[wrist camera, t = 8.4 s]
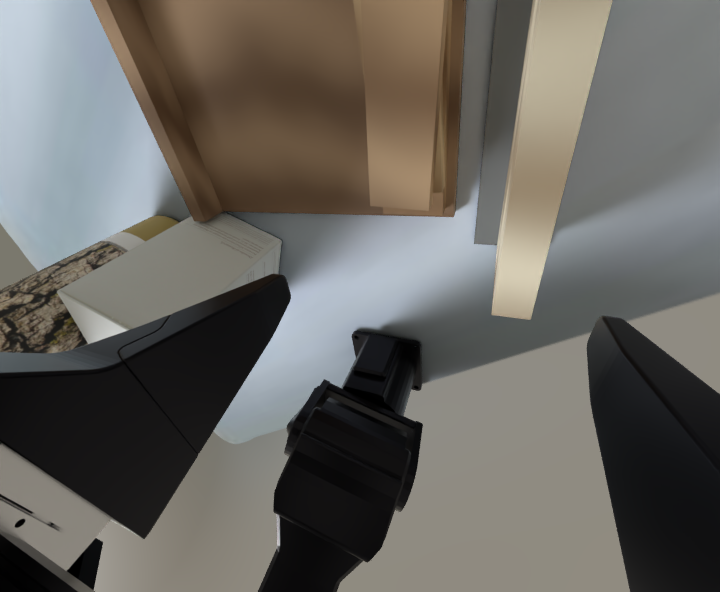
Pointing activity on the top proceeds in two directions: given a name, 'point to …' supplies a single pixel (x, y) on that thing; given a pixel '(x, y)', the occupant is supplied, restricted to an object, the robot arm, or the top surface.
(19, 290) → the log
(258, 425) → the top surface
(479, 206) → the mat
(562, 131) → the birch panel
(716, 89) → the top surface
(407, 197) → the offcut stack
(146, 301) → the supplement box
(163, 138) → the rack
